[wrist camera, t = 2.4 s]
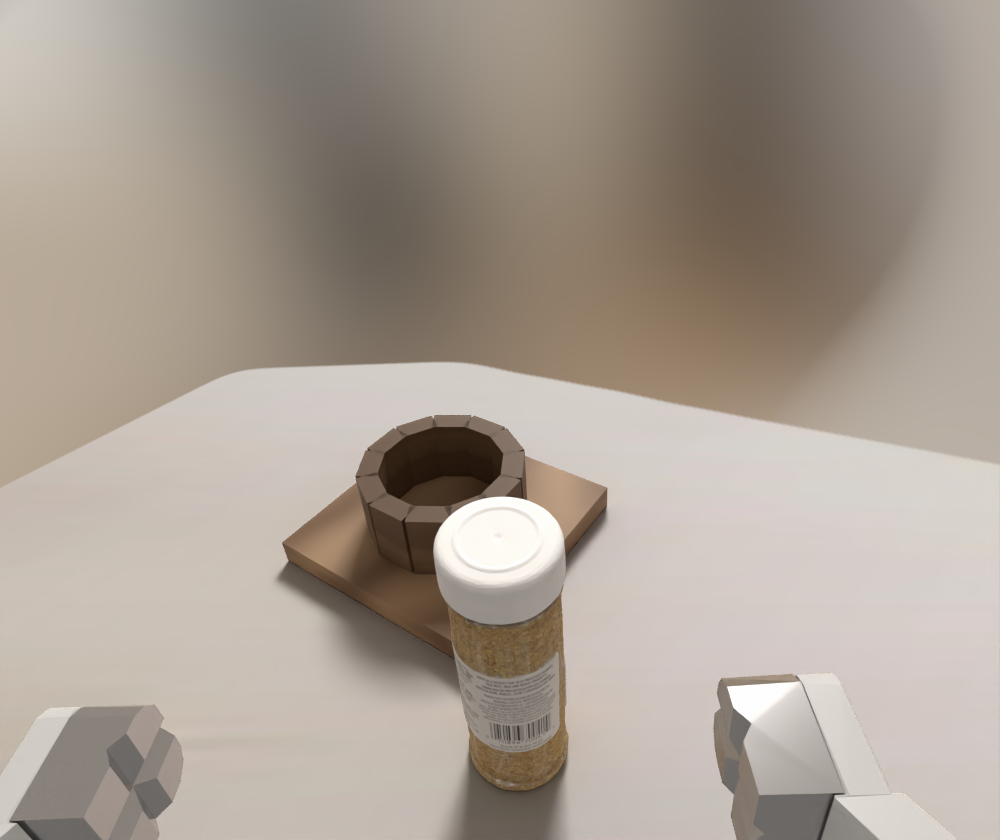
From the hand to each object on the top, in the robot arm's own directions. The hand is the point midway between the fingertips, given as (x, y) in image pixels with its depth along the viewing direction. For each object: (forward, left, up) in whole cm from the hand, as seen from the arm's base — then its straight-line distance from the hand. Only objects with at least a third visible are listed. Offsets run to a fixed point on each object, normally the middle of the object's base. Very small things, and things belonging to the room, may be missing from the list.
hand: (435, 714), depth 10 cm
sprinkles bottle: (-6, +9, -21) cm, 24 cm away
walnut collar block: (-17, +18, -21) cm, 33 cm away
